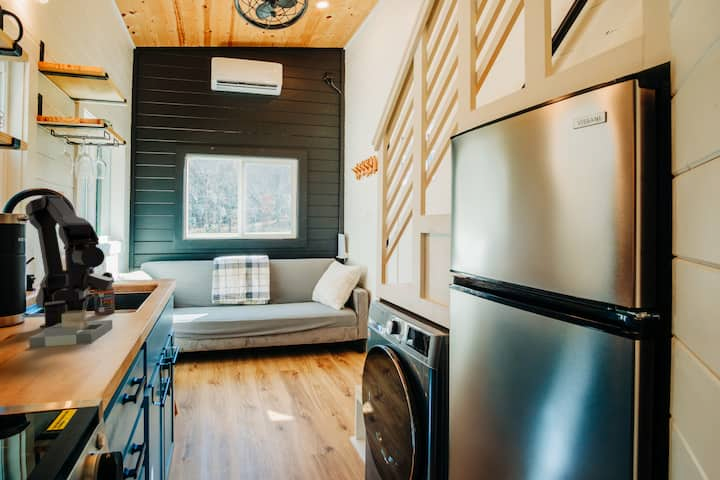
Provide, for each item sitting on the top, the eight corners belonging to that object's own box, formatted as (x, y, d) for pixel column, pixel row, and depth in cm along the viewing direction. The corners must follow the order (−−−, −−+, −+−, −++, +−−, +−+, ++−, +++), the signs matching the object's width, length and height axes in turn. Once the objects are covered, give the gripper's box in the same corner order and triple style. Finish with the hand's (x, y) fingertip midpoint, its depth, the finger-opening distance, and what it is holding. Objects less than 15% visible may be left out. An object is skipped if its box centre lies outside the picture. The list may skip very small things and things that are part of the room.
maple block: (69, 326, 118) (68, 310, 118) (86, 325, 119) (86, 309, 119) (62, 330, 114) (61, 314, 114) (80, 329, 115) (80, 313, 115)
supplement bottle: (105, 315, 144) (104, 282, 143) (90, 315, 145) (89, 282, 144) (118, 312, 149) (117, 280, 149) (104, 311, 151) (102, 279, 150)
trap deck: (58, 331, 123) (58, 316, 123) (112, 328, 126) (111, 313, 126) (29, 347, 107) (28, 330, 107) (91, 343, 110) (90, 326, 110)
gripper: (97, 268, 113) (100, 326, 114) (119, 261, 131) (122, 311, 132) (49, 270, 110) (53, 329, 111) (79, 263, 128) (81, 314, 129)
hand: (80, 320), depth 121 cm, fingers closed
